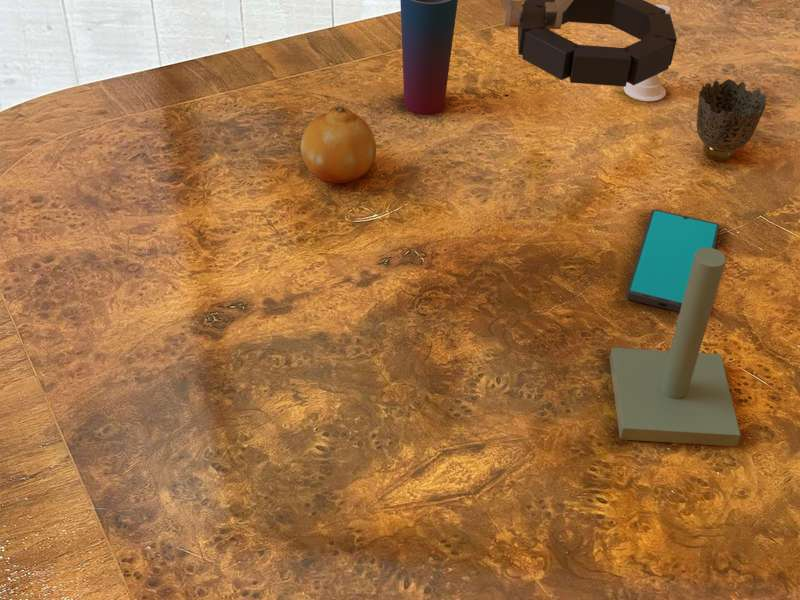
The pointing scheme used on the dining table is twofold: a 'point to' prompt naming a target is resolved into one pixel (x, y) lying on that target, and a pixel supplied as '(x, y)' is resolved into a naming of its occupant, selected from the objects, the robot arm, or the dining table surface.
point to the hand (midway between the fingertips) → (531, 25)
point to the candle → (648, 82)
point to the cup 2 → (727, 117)
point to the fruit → (338, 146)
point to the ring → (562, 58)
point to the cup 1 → (426, 52)
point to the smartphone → (668, 258)
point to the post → (678, 375)
